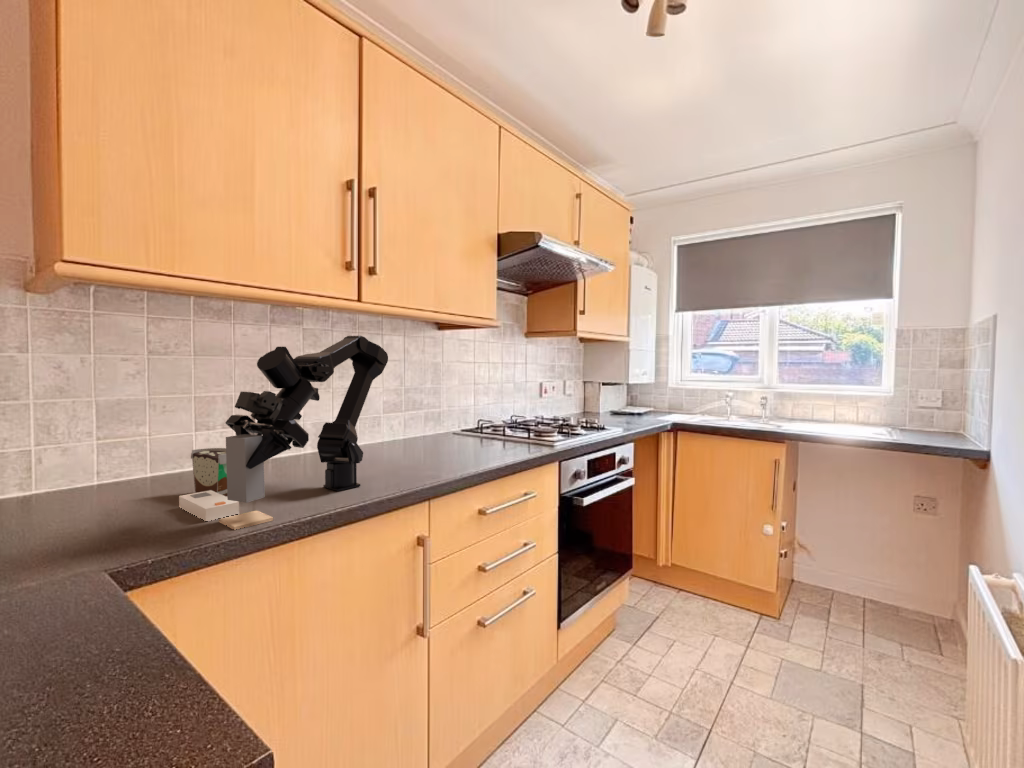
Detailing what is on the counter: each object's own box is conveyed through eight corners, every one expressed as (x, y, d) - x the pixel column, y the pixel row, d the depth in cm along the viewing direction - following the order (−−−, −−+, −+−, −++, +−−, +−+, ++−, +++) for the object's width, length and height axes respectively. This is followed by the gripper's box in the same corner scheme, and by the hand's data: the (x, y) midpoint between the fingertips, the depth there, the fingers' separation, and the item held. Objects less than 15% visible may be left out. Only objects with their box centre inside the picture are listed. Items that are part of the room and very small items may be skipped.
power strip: (202, 497, 109) (201, 485, 109) (239, 514, 98) (238, 500, 98) (170, 503, 105) (170, 490, 105) (206, 521, 93) (205, 507, 93)
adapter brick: (246, 494, 96) (244, 434, 96) (264, 497, 94) (263, 435, 94) (227, 499, 93) (225, 437, 92) (246, 502, 91) (244, 438, 90)
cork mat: (256, 513, 98) (256, 510, 98) (273, 520, 94) (273, 517, 94) (218, 522, 93) (218, 518, 93) (234, 530, 89) (234, 526, 89)
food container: (248, 493, 113) (247, 450, 112) (220, 500, 107) (220, 455, 107) (218, 486, 119) (217, 445, 118) (191, 492, 114) (190, 449, 113)
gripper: (233, 375, 100) (177, 436, 91) (294, 377, 91) (239, 445, 82) (269, 410, 107) (220, 469, 98) (328, 415, 99) (281, 481, 90)
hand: (238, 466), depth 92 cm, fingers closed on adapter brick, 5 cm apart
